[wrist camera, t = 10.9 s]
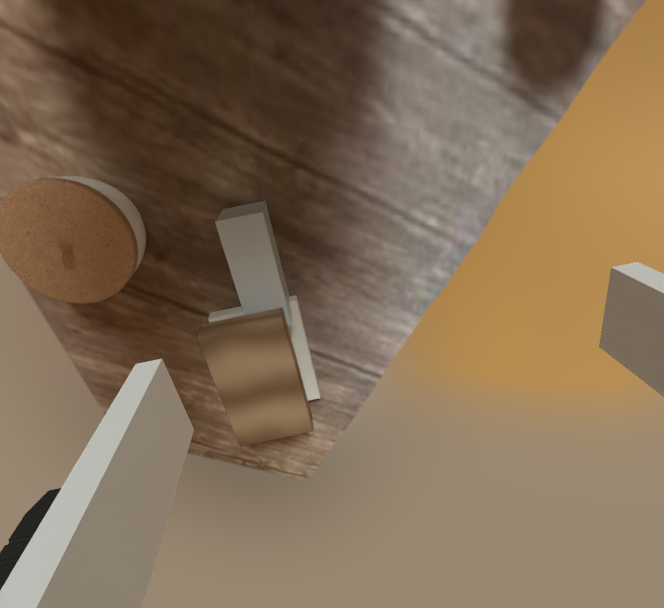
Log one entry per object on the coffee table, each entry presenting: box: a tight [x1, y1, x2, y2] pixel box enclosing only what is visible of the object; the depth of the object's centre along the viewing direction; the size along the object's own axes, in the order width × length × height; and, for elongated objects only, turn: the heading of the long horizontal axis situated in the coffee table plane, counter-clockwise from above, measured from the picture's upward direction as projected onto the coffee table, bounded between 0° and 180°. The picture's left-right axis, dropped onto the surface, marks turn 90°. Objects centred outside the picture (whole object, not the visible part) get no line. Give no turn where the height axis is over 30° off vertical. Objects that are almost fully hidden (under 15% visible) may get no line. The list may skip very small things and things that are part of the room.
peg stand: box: [208, 295, 320, 401], centre depth 46 cm, size 14×10×6 cm
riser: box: [215, 201, 292, 326], centre depth 41 cm, size 12×4×5 cm, turn 10°
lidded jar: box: [0, 176, 146, 304], centre depth 36 cm, size 11×11×9 cm
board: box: [197, 307, 313, 447], centre depth 41 cm, size 14×8×2 cm, turn 11°
